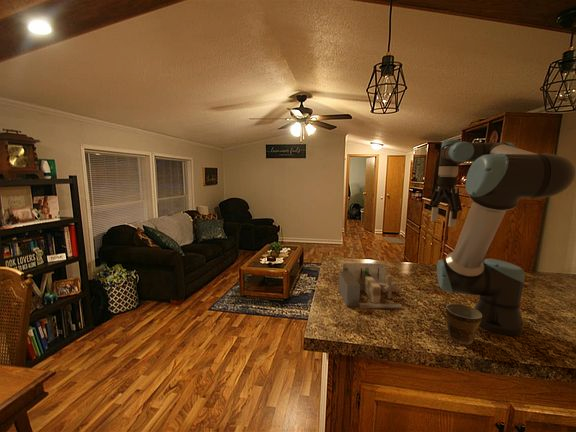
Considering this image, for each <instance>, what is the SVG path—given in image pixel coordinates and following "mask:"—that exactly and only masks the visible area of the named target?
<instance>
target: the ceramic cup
mask: <svg viewBox="0 0 576 432" xmlns="http://www.w3.org/2000/svg"><path fill="white" fill-rule="evenodd" d="M441 306H443V307H444V308H445V312H444V311H443V309H442V308H441ZM474 308H475V307H473V306H469V305H466V304H462V303H447V304H446V303H439V305H438V309H439V311H440V312H441V314H442V315H443V316H444V318H445V319H446V322H447V323H446V324H447V335H448V337H449V339H450V340H452V341H453V342H455V343H457V344H459V345H466V346H470V345H471V344H472V343H473V342H474V339H475V338H476V334H477V333H478V329H479V327H480V326H479V325H480V322H481V319H482V314H481V313H480V312H479V311H478V310H476V309H474Z"/></svg>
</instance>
